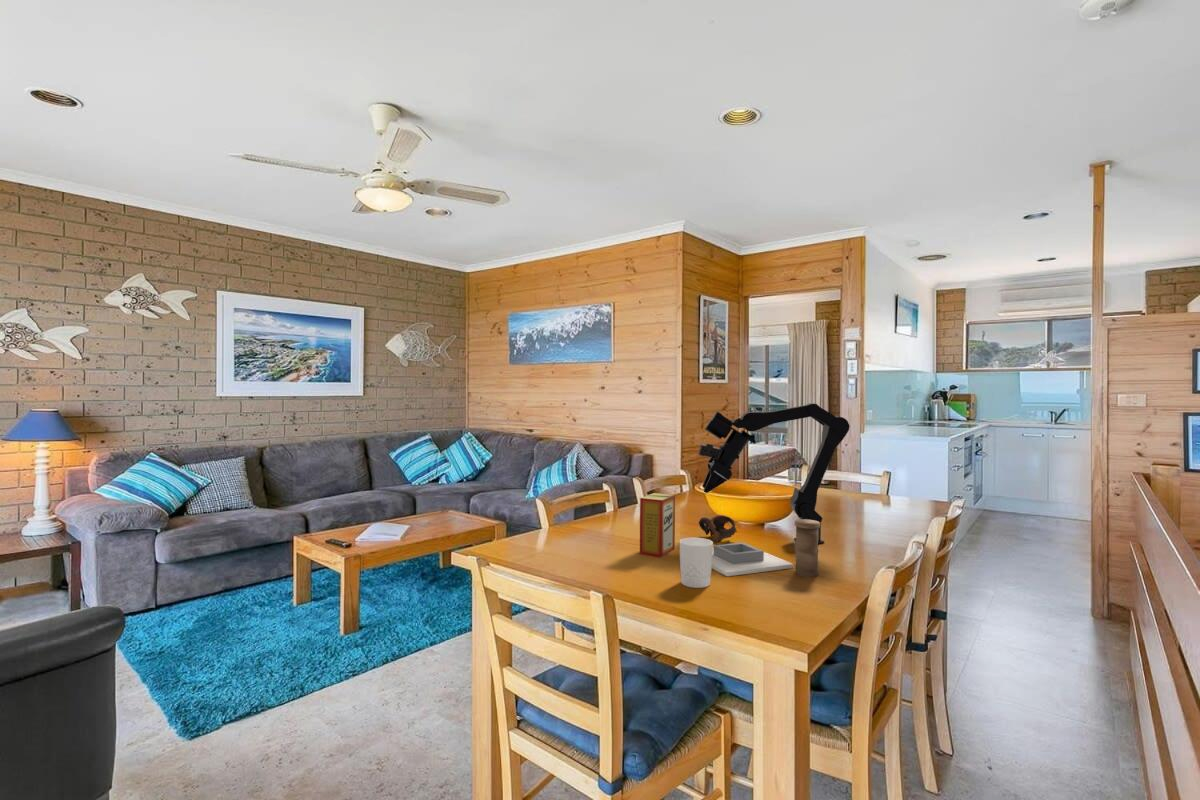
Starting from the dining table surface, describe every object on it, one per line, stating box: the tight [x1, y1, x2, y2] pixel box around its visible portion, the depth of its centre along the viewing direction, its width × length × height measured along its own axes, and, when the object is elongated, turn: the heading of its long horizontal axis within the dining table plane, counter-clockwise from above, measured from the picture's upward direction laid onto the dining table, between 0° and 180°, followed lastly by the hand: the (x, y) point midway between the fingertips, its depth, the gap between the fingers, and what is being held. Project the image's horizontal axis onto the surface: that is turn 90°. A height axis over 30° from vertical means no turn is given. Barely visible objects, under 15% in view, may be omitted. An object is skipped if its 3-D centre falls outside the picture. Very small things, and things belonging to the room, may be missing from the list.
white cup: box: [678, 537, 714, 589], centre depth 142 cm, size 8×8×10 cm
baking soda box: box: [639, 492, 676, 558], centre depth 170 cm, size 10×6×16 cm
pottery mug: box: [698, 514, 738, 543], centre depth 185 cm, size 12×10×8 cm
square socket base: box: [711, 541, 794, 577], centre depth 161 cm, size 20×20×4 cm
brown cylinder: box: [794, 518, 820, 578], centre depth 150 cm, size 6×6×13 cm
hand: (704, 489), depth 185 cm, fingers open, 9 cm apart
